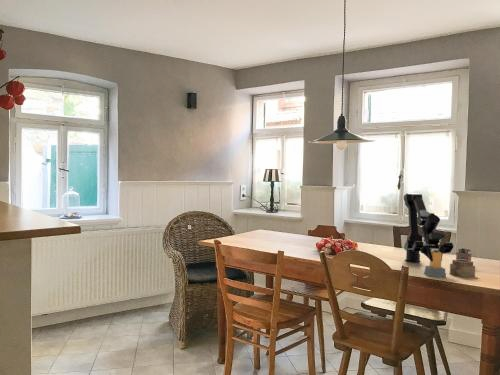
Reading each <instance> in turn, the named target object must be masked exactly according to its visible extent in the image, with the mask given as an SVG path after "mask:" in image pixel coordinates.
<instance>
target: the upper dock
mask: <svg viewBox="0 0 500 375" xmlns="http://www.w3.org/2000/svg"><path fill="white" fill-rule="evenodd" d="M449 274H450V275H454V276H458V277H461V278H468V277H475V276H476V265H474V261H472V260H471V261H468V260H463V259H458V260H456V259H452V262H451V263H449Z"/></svg>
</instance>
